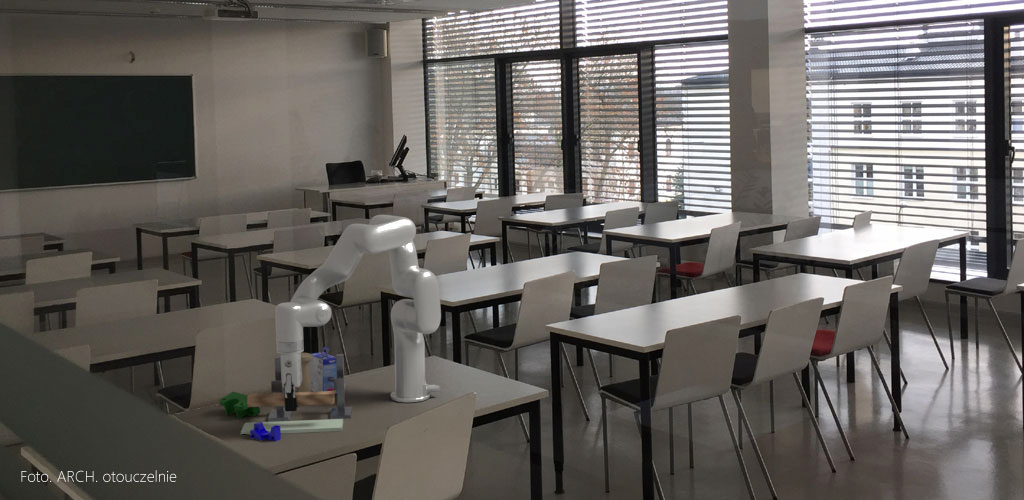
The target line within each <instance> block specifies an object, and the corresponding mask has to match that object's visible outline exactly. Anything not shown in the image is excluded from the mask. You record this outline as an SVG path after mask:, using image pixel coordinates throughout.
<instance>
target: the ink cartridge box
mask: <svg viewBox="0 0 1024 500" xmlns="http://www.w3.org/2000/svg"><path fill="white" fill-rule="evenodd" d="M325 350H326V351H325ZM329 350H330V348H328V347H326V346H323V348H322V350H321V352H315V353H311V354H312V360H311V361H310V362H309V367H310V378H311V392H320V391H334V395H337V390H334V378H337V366H336V356H333V355H331V354H328V353H329V352H330V351H329Z"/></svg>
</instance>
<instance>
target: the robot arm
mask: <svg viewBox="0 0 1024 500" xmlns="http://www.w3.org/2000/svg"><path fill="white" fill-rule="evenodd" d="M416 233H417V228H416V225H415V222H413V221H412V220H411V219H410V218H408V217H406V216H405V217H404V216H397V215H391V214H377V215H375V216H373V217H372V218H371V219H370V220H369V223H368V224H364V223H352V224H349V225H348V226H346V227H345V229H344V230H343V232H342V234H341V235H340V237H339V239H338V240H337V242H336V243H335V245H334V247H333V249H332V250H331V252H330V253H329V254H328V257H327V258H326V260H325V261H324V263H323V264H322V265H320V266H319V267H318V268H316V269H315V270H314V271H312V273H311V274H309V275H308V276H307V277H306V278H305V279H304V280H303V281H302V282H301V283H300V285H299V286H298V287H297V289H296V291H295V293H294V294H293V296H292V298H291V299H290V301H289V302H288V301H287V302H281V303H279V304H277V305H276V306H275V312H274V313H275V341H276V343H275V344H276V346H275V347H276V353H277V354H280V356H281V379H282V387H283V388H284V393H285V406H284V410H285V411H292V412H297V410H298V408H299V405H297V397H295V392H298V389H299V387H300V385H301V382H302V366H301V353H304V349H305V347H304V327H305V328H310V327H312V328H313V327H315V328H317V327H322V326H325V325H326V324H328V322H330V320H331V318H332V315H333V314H332V308H331V307H330V305H329V304H328V303H327V302H325V301H322V300H320V299H319V297H320V296H321V295H322V294H323V293H324V292H325V291H326V290H328V289H329V288H331V287H333V286H335V285H338V284H341V283H343V282H345V281H347V280H348V279H350V277H351V276H352V274H353V273H354V271H355V270H356V268H357V266H358V264H359V263H360V261H361V260H362V257H363V256H364V254H367V255H368V254H369V255H377V254H382V253H385V252H388V255H389V256H388V257H389V262H390V263H389V264H390V273H391V283H392V288H393V290H394V293H396V294H397V295H399V296H402V297H406V298H403V299H400V300H398V301H396V302H395V303H394V304H393V306H392V308H391V312H390V321H391V326H392V331H393V338H394V340H393V343H394V378H395V379H394V384H395V385H394V387H395V388H394V389H395V390H394V391H392V392H391V393H390V399H391V400H392V401H395V402H398V403H420V402H423V401H427V400H428V399H429V398H431V392H433V393H436V392H440V391H441V388H440V385H436V383H434V384H428V383H427V381H426V356H425V355H426V353H425V352H426V351H425V349H426V347H425V339H424V338H425V337H424V334H425V335H430V334H433V333H435V332H436V331H437V330H438V328H439V326H440V324H441V320H442V309H441V297H440V296H441V295H440V286H439V281H438V278H437V276H436V275H435V274H434V273H433V272H432V271H431V270H429V269H425V268H421V267H420V266H419V260H418V253H417V250H416V249H417V248H416V245H415V242H414V239H415V237H416V235H417V234H416ZM410 298H411V299H410Z"/></svg>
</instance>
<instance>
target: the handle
mask: <svg viewBox="0 0 1024 500" xmlns="http://www.w3.org/2000/svg"><path fill="white" fill-rule="evenodd" d="M312 354H313V353H310V352H309V353H308V352H301V366H302V382H301V385H300V387H299V388H298V392H312V391H311V378H310V367H309V362H310V361H311V360H312Z"/></svg>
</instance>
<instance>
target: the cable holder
mask: <svg viewBox="0 0 1024 500" xmlns="http://www.w3.org/2000/svg"><path fill="white" fill-rule="evenodd" d="M256 422H257V421H256ZM263 422H264V421H258V422H257V423H254V422H253V423H254V429H252V430H250V435H249V436H250V437H249V438H250V439H251V438H255V439H254V440H256V439H258V441H260V440H261V441H264V440H267V439H268V440H267V441H271V440H273V441H272V442H278V441H279V440H281V439H282V438H281V437H282V435H281V431H280V426H278V425H276V426H273V427H271V431H270V432H268V431H266V429H265V428H264V425H263ZM277 440H278V441H277Z"/></svg>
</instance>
